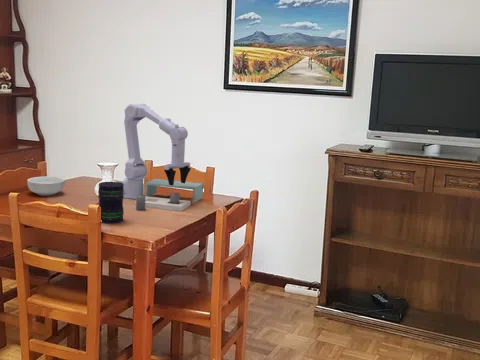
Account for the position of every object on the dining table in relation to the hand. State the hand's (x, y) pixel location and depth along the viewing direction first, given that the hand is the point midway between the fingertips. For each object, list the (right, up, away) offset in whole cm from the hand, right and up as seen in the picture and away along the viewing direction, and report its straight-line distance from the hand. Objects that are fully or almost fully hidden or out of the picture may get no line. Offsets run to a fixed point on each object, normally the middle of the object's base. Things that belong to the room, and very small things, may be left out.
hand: (177, 183), depth 257 cm
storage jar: (-23, -15, -30) cm, 41 cm away
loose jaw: (-15, -11, -10) cm, 21 cm away
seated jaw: (-1, -10, -2) cm, 10 cm away
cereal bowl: (-63, -5, +11) cm, 64 cm away
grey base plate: (-6, -10, -1) cm, 12 cm away
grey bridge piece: (-3, -6, +13) cm, 15 cm away
